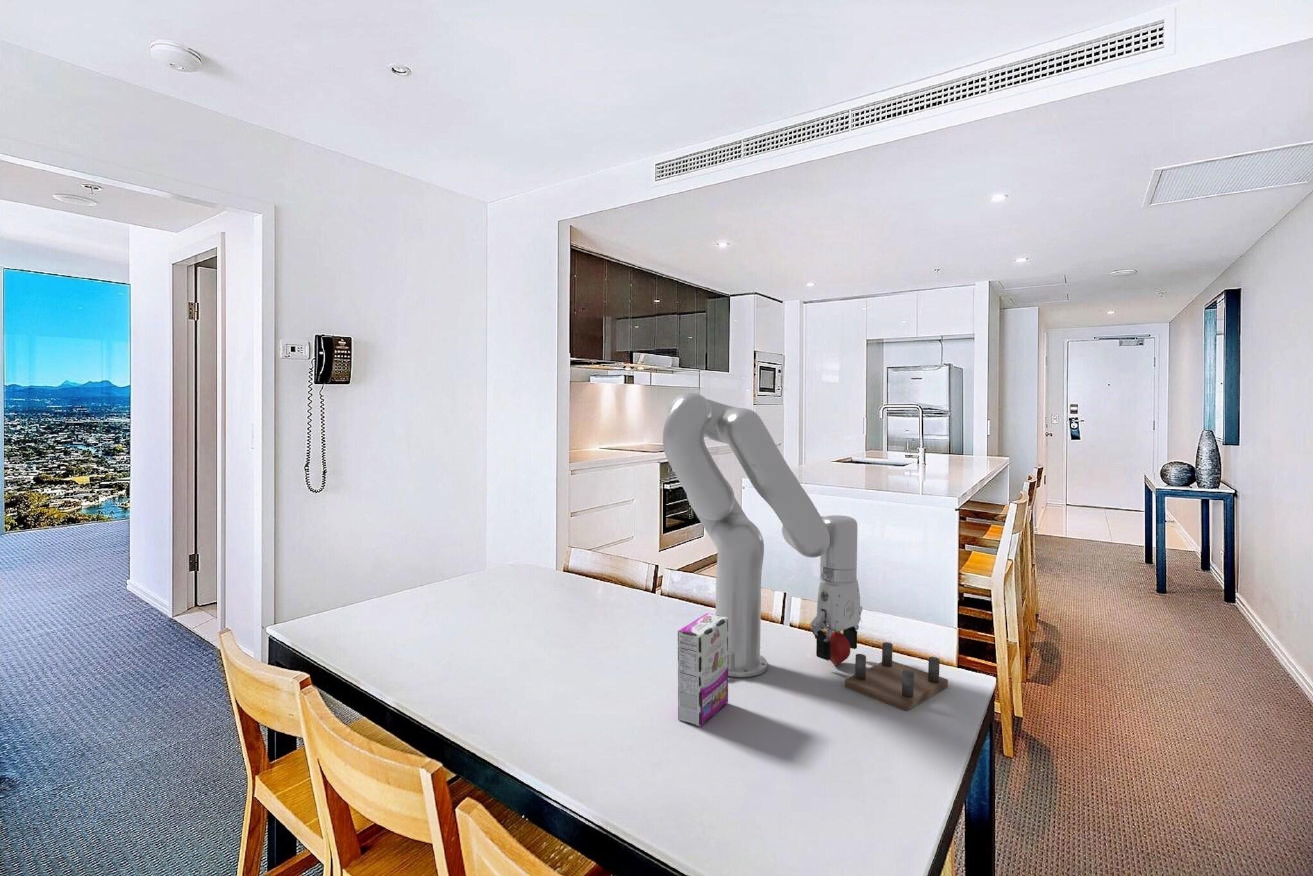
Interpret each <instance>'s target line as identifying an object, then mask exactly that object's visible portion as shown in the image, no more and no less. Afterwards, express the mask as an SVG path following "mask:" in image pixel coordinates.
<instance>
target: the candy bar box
mask: <svg viewBox="0 0 1313 876" xmlns="http://www.w3.org/2000/svg"><path fill="white" fill-rule="evenodd" d="M728 703H729V676H728V617H723V616H719V615H716V614H713V613H705V614H703V615H701V616H700V617H699V618H697V619H695V620H694V621H692V622H690V623H689V624H687V625H685V626H683V627H681V629H679V630H677V709H678V710H677V714H678V716H677V717H678V719H677V720H678V721H680V722H682V723H685V724H688V725H693V726H695V727H696V726H697V727H699V728H701V727H703V726H704V725H705V724H706V723H707V722H708V721H709V720H710V719H712V718H713V716H715V715H716V714H717V713H718V712H719V711H720V710H721V709H722V708H723V707H725V706H726V704H728Z"/></svg>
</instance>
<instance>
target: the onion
mask: <svg viewBox="0 0 1313 876" xmlns="http://www.w3.org/2000/svg"><path fill="white" fill-rule="evenodd" d="M829 641H830V642H831V659H830V660H829V661H830V662H831V664H833V665H834V666H839V665H840V664H842V663H843V662H844V661H845V660H847V659H848V658H849V657H850V654H851V648H850V643H849V641H848V639H847V638H846V637H845V636H844V635H843V632H841V631H840V632H834V631H833V632H832V634H831V636H830V639H829Z"/></svg>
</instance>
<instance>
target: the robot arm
mask: <svg viewBox="0 0 1313 876" xmlns="http://www.w3.org/2000/svg"><path fill="white" fill-rule="evenodd" d="M705 439H708V440H712V441H714V442H715V441H716V442H718V443H723V444H726V445H729V448H730V449H731V451H732V452H733V454H734V456H735V458H736V459H737V461H738V463H739V464H740V466H741V468H742V469H743V471H744V473H745V474H746V476H747V478H748V479H749V482H750V483H751V485H752V487H753V489H755V490H756V492H757V493H758V495H759V496H760V497H761V498H762V500H764V501H765V502H766V503H767V504H768V505H769V507H770V508H771V509H772V510H773V512H774V514H775V515H776V516H777V518H778V519H779V521H780V523H782V527H781V533H782V537H783V539H784V540H785V542H786V543H787V544H788V545H789V546H790V547H792V548H793V549H794V550H795V551H797V553H799V554H800V555H801V556H802V557H806V558H813V559H815V558H817V557H818V558H819V557H820V561H819V562H820V564H819V565H820V566H819V580H820V581H819V587H818V591H817V592H818V593H817V603H816V616H815V617H814V618H813V619H812V620H811V622H810V627H811V630H812V634H813V635H814V638H815V639H816V641H815V642H816V647H815V649H816V654H815V656H816V657H817V658H819V659H821V660H825V661H827V662H828V661H830V659H831V642H830V641H829V639H830V636H831V634H832V632H840V633H841V632H842V634H843V635H844V636H845V637H846V638H847V639H848V641H849V643H850V649H853V650H856V649H857V648H858V630H859V628H860V626H859V623H860V621H862V618H861V615H862V613H863V606H861V598H860V597H861V596H860V595H861V594H860V588H859V587H860V586H859V582H858V579H857V571H858V570H857V567H858V531H859V530H858V522H857V520H856V519H855V518H854V517H851V516H847V515H841V514H840V515H838V514H836V515H827V516H822V515H821V514H820V512H819V511H818V509H817V508H816V506H815V504H814V502H813V500H812V499H811V498H810V496H809V495H808V493H807V491H806V490H805V489H804V488H803V486H802V484H801V483H800V481H799V480H798V478H797V476H796V475H795V473H794V472H793V471H792V470H791V468H790V466H789V464H788V462H787V461H786V459H785V457H784V456H783V454H782V453H781V451H780V449H779V447H778V446H777V444H776V442H775V440H774V439H773V437H772V435H771V433H770V432H769V430H768V428H767V427H766V425H765V423H764V422H763V420H762V419H761V416H760V415H759V414H758V413H757V412H756V411H754V410H752V409H749V408H745V407H744V408H743V407H738V406H737V407H735V406H731V405H727V404H724V403H721V402H718V401H714V400H711V399H708V398H706V397H705V396H704V395H702V394H700V393H697V392H685V393H682V394H679V395H677V396H676V397H675V398H673V400H672V401H671V402H670V406H669V408H668V415H667V417H666V419H665V422H664V426H663V429H662V446H663V447H662V448H663V451H664V454H665V458H666V459H667V462H668V463H669V466H670V467H671V470H673V473H674V475H675V476H676V478H677V480H678V481H679V484H680V485H681V487H682V488H683V490H684V492H685V493H686V498H687V501H688V503H689V505H690V507H691V508H692V510H693V511H694V514H696V517H697V518H698V521H700V523H701V525H702V527H703V528H704V529H705V531H706V532H707V534H708V536H709V538H710V539H711V541H712V543H713V544H714V546H715V548H716V551H717V558H716V559H717V560H716V563H717V564H716V575H715V615H719V616H723V617H728V677H733V678H749V677H755V676H760V675H762V674H763V673H764V672H766V671H767V669H768V661H767V659H766V658H765V656H763V655H761V615H762V576H763V575H762V573H763V563H764V556H765V543H764V542H765V541H764V538H763V535H762V533H761V530H760V529H759V528H758V526H757V525H756V524H754V523H753V521H751V520H750V519H749V518H748V517H747V515H746V513H745V511H744V510H743V509H742V506H741V505H740V504H739V501H738V500H737V498H736V496H735V492H734V490H733V487H732V485H731V484H730V482H729V481H728V480H727V479H726V478H725V477H724V475H723V473H722V472H721V470H720V468H719V467H718V465H717V464H716V462H715V460H714V458H713V456H712V455H711V453H710V451H709V450H708V449H709V448H708V447H707V446H706V443H705ZM824 630H825V631H826V632H825V633H824Z"/></svg>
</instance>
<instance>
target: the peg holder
mask: <svg viewBox="0 0 1313 876" xmlns="http://www.w3.org/2000/svg"><path fill="white" fill-rule="evenodd" d="M881 649H882V652H881V662H879V663H877V664H875V665H873V666H871V667H869V668H867V656H866V655H865V654H863V653H856V654H855V661H854V662H855V663H854V675H851V676H850V677H848V678H845V679H844V687H845V688H847V689H849V688H850V689H849V690H851V689H852V690H851V691H854V692H857V693H859V694H862V695H865V696H867V695H868V696H867V697H869V696H870V698H872V697H873V698H872V699H874V698H875V699H874V700H877V699H878V701H879V702H882V701H883V702H882V703H885V704H888V705H890V706H892V707H896V708H898V709H901V710H902V711H905V712H908V711H909V710H911V709H913V708H914V706H915V707H916V706H918V705H919V704H921V703H923V702H924V701H926V700H928V699H930V698H931V696H932V697H933V696H934V695H936V694H938V693H940V692H942V691H943V690H945V689H948V687H949V679H948V678H944V677H941V676H940V666H941V665H940V660H941V659H940V658H939V657H936V656H929V657H928V667H927V668H928V671H924V670H921V669H918V668H915V667H912V666H909V665H906V664H903V663H899V662H897V661H894V660H893V643H891V642H889V641H888V642H887V641H884V642H882V647H881ZM866 668H867V669H866ZM929 697H930V698H929ZM917 704H918V705H917Z"/></svg>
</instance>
